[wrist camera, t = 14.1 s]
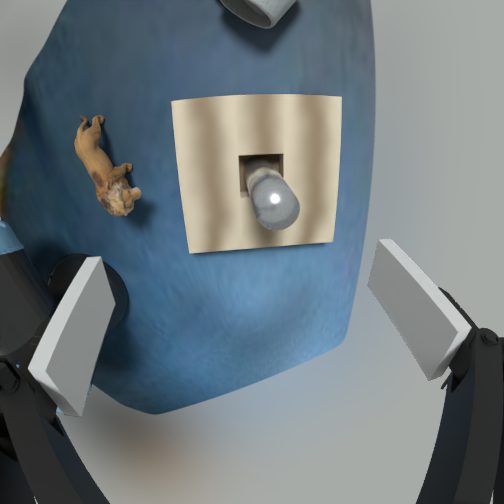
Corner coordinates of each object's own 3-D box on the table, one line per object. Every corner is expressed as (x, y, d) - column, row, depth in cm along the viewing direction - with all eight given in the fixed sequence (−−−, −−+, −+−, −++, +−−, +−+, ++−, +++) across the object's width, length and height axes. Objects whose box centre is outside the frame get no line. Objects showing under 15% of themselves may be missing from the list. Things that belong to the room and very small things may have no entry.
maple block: (191, 239, 43) (189, 253, 39) (176, 100, 33) (171, 101, 29) (324, 229, 44) (332, 241, 41) (330, 96, 34) (341, 97, 31)
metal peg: (243, 185, 39) (255, 232, 27) (242, 156, 37) (254, 189, 25) (273, 183, 39) (299, 228, 27) (273, 154, 37) (300, 187, 25)
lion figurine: (157, 182, 38) (142, 206, 30) (130, 204, 39) (110, 232, 31) (94, 103, 31) (63, 108, 23) (69, 129, 32) (35, 141, 24)
